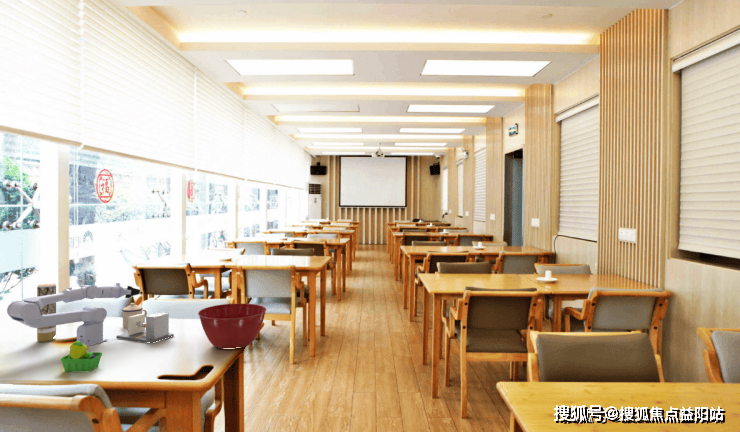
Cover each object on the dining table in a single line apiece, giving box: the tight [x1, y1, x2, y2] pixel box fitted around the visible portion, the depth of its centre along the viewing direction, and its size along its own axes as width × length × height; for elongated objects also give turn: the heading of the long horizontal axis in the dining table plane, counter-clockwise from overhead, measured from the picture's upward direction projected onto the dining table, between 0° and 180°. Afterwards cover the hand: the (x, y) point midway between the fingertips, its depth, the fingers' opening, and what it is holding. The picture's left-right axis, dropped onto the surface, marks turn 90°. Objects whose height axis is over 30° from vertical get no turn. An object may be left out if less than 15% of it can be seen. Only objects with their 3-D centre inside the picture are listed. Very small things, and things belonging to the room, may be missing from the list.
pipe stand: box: [136, 312, 170, 340], centre depth 198 cm, size 8×19×10 cm, turn 69°
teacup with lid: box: [122, 302, 148, 329], centre depth 219 cm, size 12×9×12 cm
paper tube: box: [36, 283, 57, 343], centre depth 193 cm, size 7×7×25 cm
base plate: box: [116, 329, 174, 344], centre depth 198 cm, size 12×22×1 cm, turn 69°
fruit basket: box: [60, 340, 103, 373], centre depth 157 cm, size 11×9×11 cm
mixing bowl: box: [197, 302, 267, 349], centre depth 187 cm, size 28×28×16 cm
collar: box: [127, 313, 146, 335], centre depth 200 cm, size 7×2×8 cm, turn 159°
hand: (133, 291), depth 209 cm, fingers open, 7 cm apart
